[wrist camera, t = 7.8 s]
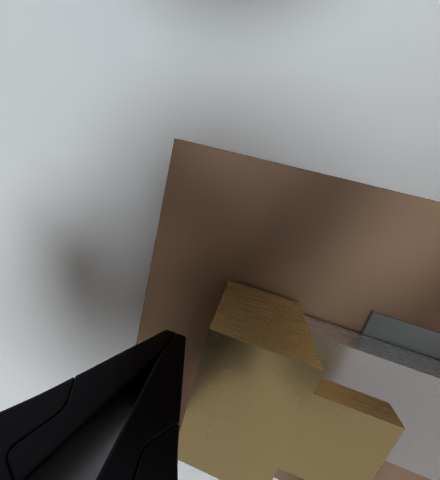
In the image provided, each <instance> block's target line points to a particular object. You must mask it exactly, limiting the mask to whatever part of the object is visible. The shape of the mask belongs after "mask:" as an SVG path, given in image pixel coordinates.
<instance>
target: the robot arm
mask: <svg viewBox="0 0 440 480" xmlns="http://www.w3.org/2000/svg"><path fill="white" fill-rule="evenodd" d="M185 345H186V337H185V336H183V335H181V334H178V333H177V334H176V333H175V332H173V331H170V330H164V331H162V332H160V333H158V334H156V335H155V336H153V337H151V338H149V339H147V340H145V341H143V342H141V343H139V344H137V345H135V346H133V347H131V348H129V349H127V350H126V351H124V352H122V353H120V354H118V355H116V356H114V357H112V358H110V359H108V360H106V361H104V362H102V363H100V364H98V365H96V366H95V367H93V368H91V369H89V370H87V371H85V372H83V373H81V374H79V375H77V376H76V377H75V378H71V379H69V380H67V381H65V382H63V383H61V384H60V385H58V386H55V387H53V388H51V389H49V390H47V391H45V392H43V393H41V394H39V395H37V396H35V397H33V398H31V399H28V400H26V401H24V402H22V403H19V404H17V405H15V406H13V407H11V408H8V409H6V410H4V411H1V412H0V480H178V473H177V463H178V441H179V427H180V426H179V424H180V412H181V399H182V385H183V372H184V358H185Z"/></svg>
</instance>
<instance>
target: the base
mask: <svg viewBox="0 0 440 480" xmlns="http://www.w3.org/2000/svg"><path fill="white" fill-rule="evenodd" d="M229 280H231V281H234V282H237V283H240V284H243V285H246V286H249V287H252V288H255V289H258V290H261V291H264V292H267V293H270V294H273V295H276V296H279V297H282V298H285V299H288V300H291V301H294V302H297V303H300V305H301V308H302V311H303V313H304V315H305V316H308V317H311V318H314V319H317V320H320V321H323V322H326V323H329V324H332V325H335V326H338V327H341V328H344V329H346V330H349V331H352V332H355V333H358V334H361V335H364V336H367V337H370V338H373V339H376V340H379V341H382V342H385V343H388V344H391V345H394V346H397V347H400V348H403V349H406V350H409V351H412V352H415V353H418V354H421V355H423V356H426V357H429V358H432V359H435V360H438V361H440V202H437V201H433V200H429V199H425V198H421V197H417V196H413V195H408V194H404V193H400V192H396V191H392V190H388V189H383V188H379V187H375V186H371V185H367V184H363V183H358V182H354V181H350V180H346V179H342V178H338V177H333V176H329V175H325V174H321V173H317V172H313V171H308V170H304V169H300V168H296V167H292V166H288V165H283V164H279V163H275V162H271V161H267V160H263V159H259V158H254V157H250V156H246V155H242V154H238V153H234V152H229V151H225V150H221V149H217V148H213V147H209V146H204V145H200V144H196V143H192V142H188V141H184V140H179V139H174V145H173V150H172V156H171V161H170V166H169V172H168V177H167V183H166V188H165V193H164V199H163V204H162V209H161V215H160V220H159V226H158V231H157V236H156V242H155V247H154V252H153V258H152V263H151V269H150V274H149V279H148V285H147V290H146V295H145V301H144V306H143V312H142V317H141V322H140V328H139V333H138V338H137V344H139V343H141V342H143V341H145V340H147V339H149V338H151V337H153V336H155V335H156V334H158V333H160V332H162V331H164V330H170V331H173V332H175V333H176V334H177V333H178V334H181V335H183V336H185V337H186V345H185V358H184V372H183V385H182V399H181V412H180V424H179V426H180V427H179V433H180V430H181V426H182V422H183V419H184V415H185V412H186V408H187V405H188V401H189V398H190V394H191V391H192V387H193V384H194V380H195V377H196V373H197V370H198V366H199V363H200V359H201V356H202V352H203V349H204V345H205V342H206V338H207V335H208V331H209V328H210V325H211V323H212V321H213V318H214V316H215V313H216V311H217V308H218V306H219V304H220V301H221V299H222V296H223V294H224V291H225V289H226V286H227V284H228V282H229ZM137 344H136V345H137ZM274 477H275V478H277V479H279V480H305V479H302V478H300V477H298V476H296V475H293V474H291V473H289V472H287V471H284V470H282V469H280V468H278V469H277V471H276V473H275V475H274ZM373 480H431V479H428V478H426V477H424V476H421V475H419V474H416V473H414V472H411V471H409V470H407V469H404V468H402V467H399V466H397V465H395V464H392V463H390V462H387V461H384V463H383V464H382V466H381V467H380V469H379V471H378V472H377V474H376V475H375V477H374V478H373Z"/></svg>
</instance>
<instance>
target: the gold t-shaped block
mask: <svg viewBox="0 0 440 480" xmlns="http://www.w3.org/2000/svg"><path fill="white" fill-rule="evenodd" d="M323 372H324V370H323V367H322V364H321V361H320V359H319V356H318V353H317V350H316V347H315V345H314V342H313V339H312V336H311V333H310V330H309V328H308V325H307V322H306V319H305V316H304V313H303V311H302V308H301V305H300V303H297V302H294V301H291V300H288V299H285V298H282V297H279V296H276V295H273V294H270V293H267V292H264V291H261V290H258V289H255V288H252V287H249V286H246V285H243V284H240V283H237V282H234V281H231V280H229V282H228V284H227V286H226V289H225V291H224V294H223V296H222V299H221V301H220V304H219V306H218V308H217V311H216V313H215V316H214V318H213V321H212V323H211V325H210V328H209V331H208V335H207V338H206V342H205V345H204V349H203V352H202V356H201V359H200V363H199V366H198V370H197V373H196V377H195V380H194V384H193V387H192V391H191V394H190V398H189V401H188V405H187V408H186V412H185V415H184V419H183V422H182V426H181V430H180V433H179V441H178V460H180V461H182V462H184V463H186V464H189V465H191V466H193V467H195V468H197V469H199V470H201V471H203V472H205V473H208V474H210V475H212V476H214V477H216V478H218V479H220V480H272V479H273V477H274V475H275V473H276V471H277V469H278V468H280V469H282V470H284V471H287V472H289V473H291V474H293V475H296V476H298V477H300V478H302V479H305V480H373V478H374V477H375V475H376V474H377V472H378V471H379V469H380V467H381V466H382V464H383V463H384V461H385V460H386V458H387V457H388V455H389V454H390V452H391V451H392V449H393V448H394V446H395V445H396V443H397V441H398V440H399V438H400V437H401V435H402V434H403V432H404V431H405V427H404V426H403V424H402V422H401V421H400V419H399V418H398V416H397V414H396V413H395V411H394V409H393V408H392V406H391V405H390V403H388V402H386V401H383V400H380V399H378V398H375V397H372V396H370V395H367V394H364V393H362V392H359V391H356V390H354V389H351V388H348V387H346V386H343V385H340V384H338V383H335V382H332V381H329V380H327V379H324V378H321V376H322V374H323Z"/></svg>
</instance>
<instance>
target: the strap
mask: <svg viewBox="0 0 440 480" xmlns="http://www.w3.org/2000/svg"><path fill="white" fill-rule="evenodd" d="M304 316H305V315H304ZM305 319H306V322H307V325H308V328H309V330H310V333H311V336H312V339H313V342H314V345H315V347H316V350H317V353H318V356H319V359H320V361H321V364H322V367H323V370H324V372H323V374H322V376H321V378H324V379H327V380H329V381H332V382H335V383H338V384H340V385H343V386H346V387H348V388H351V389H354V390H356V391H359V392H362V393H364V394H367V395H370V396H372V397H375V398H378V399H380V400H383V401H386V402H388V403H390V405H391V406H392V408H393V409H394V411H395V413H396V414H397V416H398V418H399V419H400V421H401V422H402V424H403V426H404V427H405V431H404V432H403V434H402V435H401V437H400V438H399V440H398V441H397V443H396V445H395V446H394V448H393V449H392V451H391V452H390V454H389V455H388V457H387V458H386V460H385V461H387V462H390V463H392V464H395V465H397V466H399V467H402V468H404V469H407V470H409V471H411V472H414V473H416V474H419V475H421V476H424V477H426V478H428V479H431V480H440V361H438V360H435V359H432V358H429V357H426V356H423V355H421V354H418V353H415V352H412V351H409V350H406V349H403V348H400V347H397V346H394V345H391V344H388V343H385V342H382V341H379V340H376V339H373V338H370V337H367V336H364V335H361V334H358V333H355V332H352V331H349V330H346V329H344V328H341V327H338V326H335V325H332V324H329V323H326V322H323V321H320V320H317V319H314V318H311V317H308V316H305Z"/></svg>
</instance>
